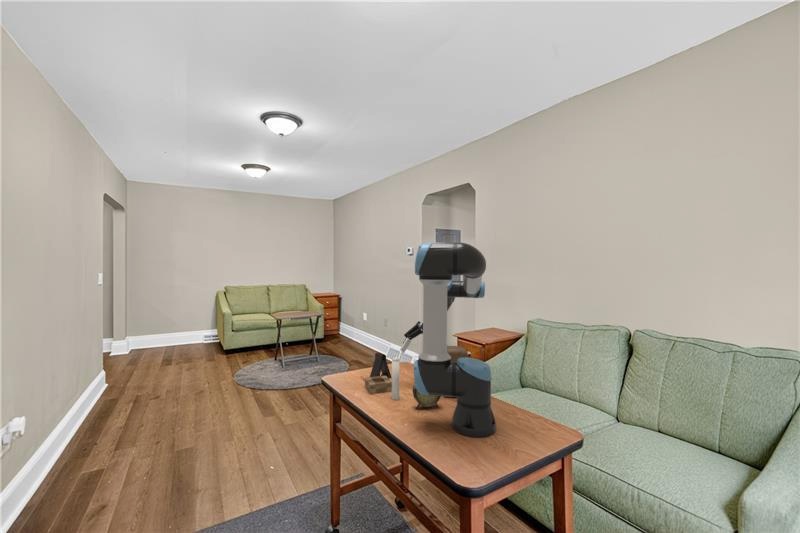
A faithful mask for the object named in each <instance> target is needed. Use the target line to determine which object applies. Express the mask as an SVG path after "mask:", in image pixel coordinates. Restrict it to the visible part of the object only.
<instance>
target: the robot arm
mask: <svg viewBox="0 0 800 533" xmlns="http://www.w3.org/2000/svg"><path fill="white" fill-rule="evenodd" d="M416 251H417V252H416V255H415V256H416V257H415V262H414V274H415V275H416V276H418V280H419V281H420V282H421V284H422V285H423V290H422V291H423V292H422V293H423V295H422V296H423V304H422V306H423V308H422V318H423V319H422V322H421V321H417V322H416V323H415V325H414V326H412V327H411V328H410V329H409V330H408V331H406V333H404V334H403V336H404V337H405V339H404V341H403V343H402V345H401V347H400V348H399V350H400V351H401V352H402V353H403V354H404V353H406V351H407V349H408V348H409V346H410V345H411V342H412V340H413V339H415V338H416V337H418V336H420V335H422V352H421V353H420V354H418V359H416V360H414V364H413V379H414V383H415V386H416V389H417V391H418V392H419V393H420V394H426V395H430V396H431V395H436V396H441V397H445V396H450V397H449V398H456V405H455V409H454V412H453V414H452V418H451V427H452V429H453V430H454V431H455V432H457V433H459V434H461V435H463V436H466V437H471V438H485V437H489V436H492V435H493V434H494V433H495V432H496V430H497V423H496V419H495V416H494V412H493V410H492V409H493V408H492V388H491V387H492V379H493V378H492V369H491V367H490V365H489V364H488V363H487V362H485V361H483V360H481V359H478V358H473V357H468V358H467V357H465V358H459V359H458V360H457V363H455V362H451V356H450V355H449V354H448V353H447V346H448V312H449V309H450V308H451V306H452V304H453V303H454V302H455V300H456V298H465V299H467V298H468V299H469V298H470V299H481V298H482V299H484V297H485V294H486V289H485V288H486V284H485V282H484V281H483V280H482V279H483V275H484V273H485V272H486V268H487V261H486V258H485V256H484V254H483V253H482V252H481V251H480V250H479V249H477V248H476V247H475V246H473V245H471V244H469V243H465V242H437V241H436V242H423V243H421V244H419V246H418V248H417V250H416ZM453 276H462V280H453Z"/></svg>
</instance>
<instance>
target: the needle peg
mask: <svg viewBox="0 0 800 533" xmlns="http://www.w3.org/2000/svg"><path fill="white" fill-rule="evenodd" d="M400 368H401V367H400V358H399V357H398V356H394V357H393V358H392V359H391V382H392V391H391V400H393V401H398V400H400Z"/></svg>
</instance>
